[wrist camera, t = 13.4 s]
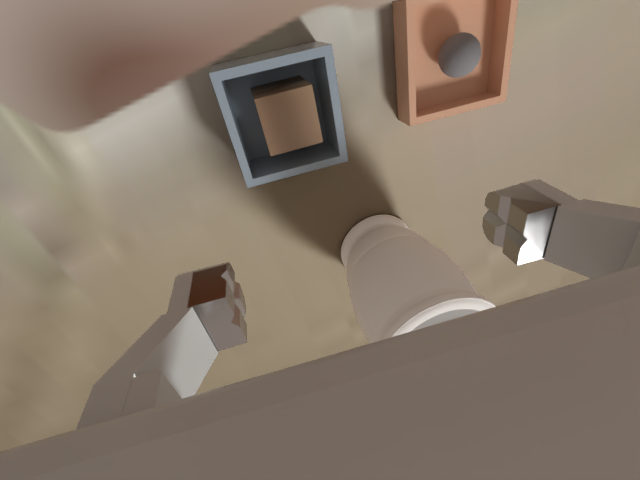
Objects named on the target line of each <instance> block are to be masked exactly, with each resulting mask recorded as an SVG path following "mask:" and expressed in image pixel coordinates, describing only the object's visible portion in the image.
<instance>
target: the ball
mask: <svg viewBox="0 0 640 480" xmlns="http://www.w3.org/2000/svg"><path fill="white" fill-rule="evenodd" d="M480 57H481V45H480V42H479V41H478V39H477V38H476V37H475V36H474V35H472V34H470V33H466V32H461V33H457V34H454V35H452V36H451V37H449V38H448V39H447V40H446V41H445V42H444V44H443V45H442V47H441V49H440V51H439V55H438V63H439V67H440V69H441V71H442V72H443V73H444V74H445V75H447V76H449V77H452V78H459V77H463V76H465V75H467V74H469V73H470V72H472V71H473V70H474V68H475V67H476V66H477V64H478V62H479V60H480Z"/></svg>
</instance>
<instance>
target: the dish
mask: <svg viewBox="0 0 640 480" xmlns="http://www.w3.org/2000/svg"><path fill="white" fill-rule="evenodd" d="M392 7H393V27H394V47H395V67H396V87H397V107H398V120H400V121H402V122H403V123H405V124H407V125H409V126H413V125H417V124H420V123H424V122H428V121H432V120H436V119H440V118H443V117H447V116H451V115H455V114H459V113H463V112H466V111H470V110H474V109H478V108H482V107H486V106H489V105H493V104H497V103H501V102H505V101H506V95H507V87H508V79H509V71H510V63H511V55H512V47H513V39H514V31H515V23H516V15H517V7H518V0H398V1H393V2H392ZM461 32H466V33H470V34H472V35H474V36H475V37H476V38H477V39H478V41H479V42H480V45H481V57H480V60H479V62H478V64H477V66H476V67H475V68H474V70H473V71H472V72H470V73H469V74H467V75H465V76H463V77H459V78H452V77H449V76H447V75H445V74H444V73H443V72H442V71H441V69H440V67H439V63H438V55H439V51H440V49H441V47H442V45H443V44H444V42H445V41H446V40H447V39H448V38H449V37H451V36H452V35H454V34H457V33H461Z"/></svg>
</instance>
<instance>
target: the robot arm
mask: <svg viewBox="0 0 640 480" xmlns="http://www.w3.org/2000/svg"><path fill="white" fill-rule="evenodd" d="M485 206H486V208H487V209H488V211H487V213H486V214H485V215H484V217H483V230H484V233H485V235H486V237H487V239H488V240H489V241H490V242H491V243H492V244H494V245H497V246H500V247H503V253H504V254H505V255H506V256H507V257H508V258H509V259H510V260H512V261H513V262H514V263H515V264H516V265H520V264H524V263H528V262H532V261H536V260H540V259H544V260H546V261H548V262H551V263H553V264H556V265H558V266H561V267H563V268H566V269H568V270H571V271H573V272H576V273H578V274H581V275H584V276H586V277H589V278H591V279H589V280H586V281H582V282H579V283H575V284H572V285H568V286H565V287H561V288H558V289H555V290H551V291H548V292H544V293H541V294H537V295H534V296H531V297H527V298H524V299H520V300H517V301H513V302H510V303H506V304H503V305H500V306H496V307H493V308H489V309H486V310H482V311H479V312H476V313H472V314H469V315H465V316H462V317H459V318H455V319H452V320H448V321H445V322H442V323H438V324H435V325H431V326H428V327H425V328H421V329H418V330H414V331H411V332H408V333H404V334H401V335H397V336H394V337H391V338H387V339H384V340H380V341H377V342H374V343H370V344H367V345H363V346H360V347H357V348H353V349H350V350H346V351H343V352H340V353H336V354H333V355H329V356H326V357H323V358H319V359H316V360H312V361H309V362H305V363H302V364H299V365H295V366H292V367H288V368H285V369H282V370H278V371H275V372H271V373H268V374H265V375H261V376H258V377H254V378H251V379H247V380H244V381H241V382H237V383H234V384H230V385H227V386H224V387H220V388H217V389H213V390H210V391H207V392H203V393H200V394H196V395H195V393H196V391H197V389H198V388H199V386H200V384H201V382H202V381H203V379H204V377H205V375H206V374H207V372H208V370H209V368H210V367H211V365H212V363H213V361H214V360H215V358H216V356H217V354H218V351H221V350H224V349H227V348H230V347H234V346H237V345H240V344H243V343H246V342H247V325H246V322H245V320H244V318H243V317H244V316H245V314H246V305H245V299H244V295H243V292H242V289H241V287H240V284H239V283H237V282H235V273H234V270H233V268H232V266H231V264H230V263H229V262H227V263H223V264H219V265H214V266H210V267H206V268H202V269H198V270H195V271H190V272H187V273H183V274H179V275H178V276H176V278H175V282H174V286H173V290H172V294H171V298H170V303H169V307H168V311H167V314H165V315H161V316H160V317H159V319H158V320H157V321H156V322H155V323H154V324H153V325H152V326H151V327H150V328H149V329H148V330H147V331H146V332H145V333H144V334H143V335H142V336H141V337H140V338H139V339H138V340H137V341H136V342H135V343H134V344H133V345H132V346H131V347H130V348H129V349H128V350H127V351H126V352H125V354H124V355H123V356H122V357H121V358H120V359H119V360H118V361H117V362H116V363H115V364H114V365H113V366H112V367H111V368H110V369H109V370H108V371H107V372H106V373H105V374H104V375H103V376H102V377H101V378H100V379H99V380H98V381H97V382H96V383H95V384H94V385H93V388H92V390H91V393H90V395H89V398H88V400H87V403H86V405H85V408H84V411H83V413H82V416H81V418H80V421H79V423H78V426H77V428H76V430H73V431H70V432H66V433H63V434H59V435H56V436H53V437H49V438H46V439H42V440H39V441H35V442H32V443H29V444H25V445H22V446H18V447H15V448H12V449H8V450H5V451H1V452H0V480H640V208H636V207H629V206H623V205H617V204H611V203H604V202H598V201H592V200H586V199H583V200H577V199H575V198H573V197H572V196H570V195H568V194H566V193H564V192H562V191H560V190H558V189H556V188H554V187H553V186H551V185H549V184H547V183H545V182H543V181H541V180H536V179H533V180H530V181H527V182H523V183H520V184H518V185H514V186H511V187H507V188H504V189H500V190H497V191H493V192H490V193H488V194H487V196H486V199H485Z"/></svg>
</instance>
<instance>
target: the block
mask: <svg viewBox="0 0 640 480" xmlns="http://www.w3.org/2000/svg"><path fill="white" fill-rule="evenodd" d="M251 91H252V95H253V98H254V102H255V105H256V108H257V112H258V115H259V119H260V122H261V126H262V129H263V132H264V136H265V139H266V142H267V146H268V149H269V152H270V156H274V155H278V154H282V153H285V152H289V151H293V150H296V149H300V148H304V147H307V146H311V145H315V144H318V143H322V142H323V138H322V133H321V128H320V123H319V118H318V113H317V108H316V102H315V97H314V92H313V87H312V84H311V83H309V82H308V81H307V80H305V79H304V78H303V77H301V76H300V75H298V76H294V77H291V78H287V79H283V80H279V81H275V82H271V83H267V84H263V85H259V86H255V87H251Z"/></svg>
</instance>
